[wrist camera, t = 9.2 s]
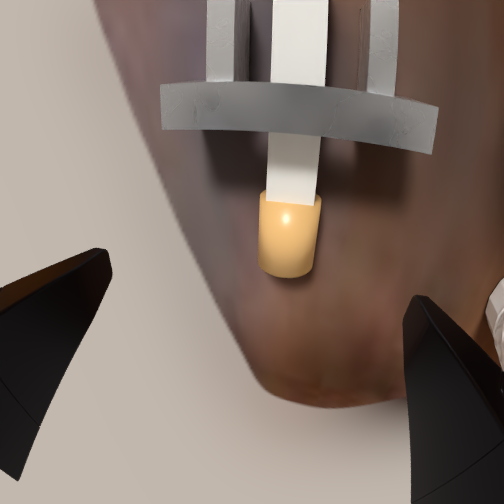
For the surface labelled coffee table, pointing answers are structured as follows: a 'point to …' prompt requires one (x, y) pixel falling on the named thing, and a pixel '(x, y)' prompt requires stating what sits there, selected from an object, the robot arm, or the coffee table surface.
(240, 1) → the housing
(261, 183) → the coffee table surface
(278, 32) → the white elongated bar
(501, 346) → the white cup
